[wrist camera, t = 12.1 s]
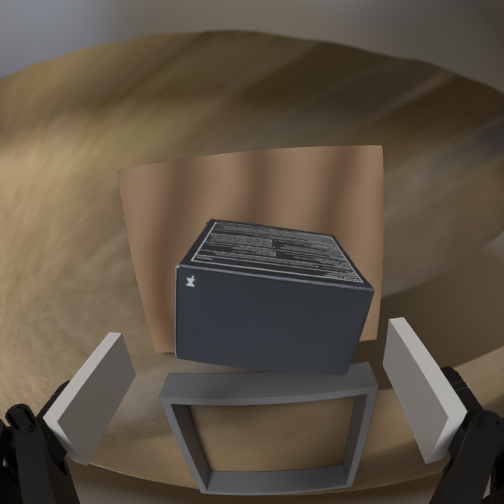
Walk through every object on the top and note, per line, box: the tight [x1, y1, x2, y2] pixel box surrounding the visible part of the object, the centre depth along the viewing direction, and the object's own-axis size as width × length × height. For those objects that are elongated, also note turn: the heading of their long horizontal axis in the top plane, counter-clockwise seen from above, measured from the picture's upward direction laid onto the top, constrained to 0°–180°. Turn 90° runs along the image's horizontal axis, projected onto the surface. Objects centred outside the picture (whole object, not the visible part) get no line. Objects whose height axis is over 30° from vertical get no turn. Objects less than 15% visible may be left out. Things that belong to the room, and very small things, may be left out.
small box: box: [174, 219, 375, 376], centre depth 21 cm, size 11×6×10 cm, turn 83°
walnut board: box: [118, 146, 384, 353], centre depth 27 cm, size 22×18×2 cm
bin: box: [159, 362, 378, 495], centre depth 33 cm, size 22×22×4 cm
